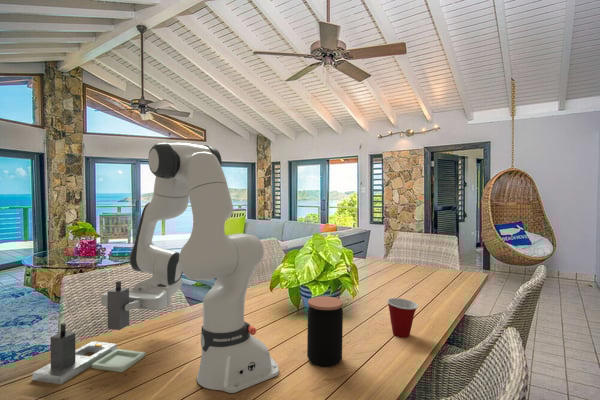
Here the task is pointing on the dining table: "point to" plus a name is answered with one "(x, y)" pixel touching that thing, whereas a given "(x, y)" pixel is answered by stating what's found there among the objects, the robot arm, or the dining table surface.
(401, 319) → the plastic cup
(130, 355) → the tray
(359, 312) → the dining table surface
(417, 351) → the dining table surface
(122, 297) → the plug
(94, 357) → the pillar on holed base
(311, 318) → the coffee jar
